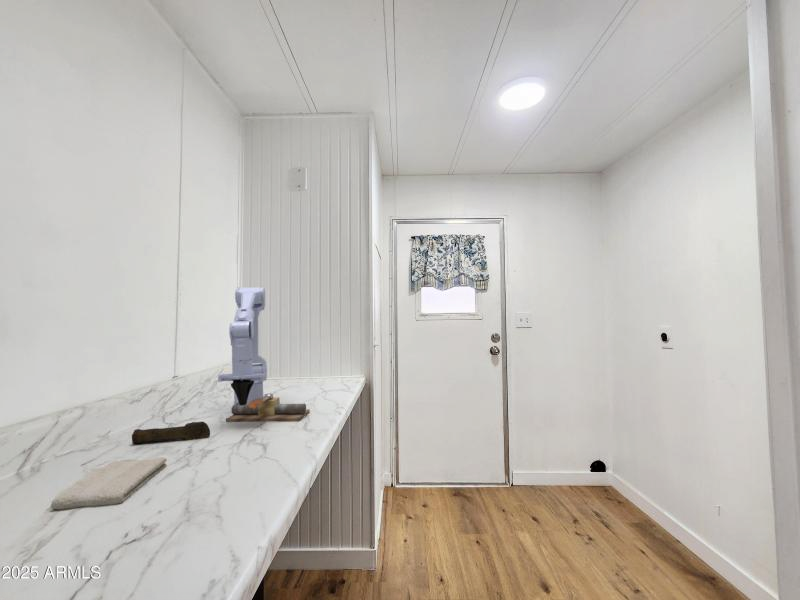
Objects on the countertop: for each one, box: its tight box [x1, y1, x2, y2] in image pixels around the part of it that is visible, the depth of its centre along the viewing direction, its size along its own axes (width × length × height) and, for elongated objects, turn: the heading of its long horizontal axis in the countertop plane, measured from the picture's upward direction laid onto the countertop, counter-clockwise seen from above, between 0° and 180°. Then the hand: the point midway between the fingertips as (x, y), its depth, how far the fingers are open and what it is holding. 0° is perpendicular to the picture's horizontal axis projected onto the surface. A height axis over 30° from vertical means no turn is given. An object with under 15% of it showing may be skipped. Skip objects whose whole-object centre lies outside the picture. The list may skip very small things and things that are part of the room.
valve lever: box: [249, 393, 274, 408], centre depth 115 cm, size 13×3×2 cm, turn 176°
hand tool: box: [131, 421, 211, 445], centre depth 100 cm, size 19×4×5 cm, turn 98°
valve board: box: [225, 396, 311, 423], centre depth 120 cm, size 24×10×6 cm, turn 86°
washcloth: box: [50, 457, 168, 511], centre depth 74 cm, size 12×18×3 cm, turn 9°
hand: (243, 404), depth 112 cm, fingers closed
